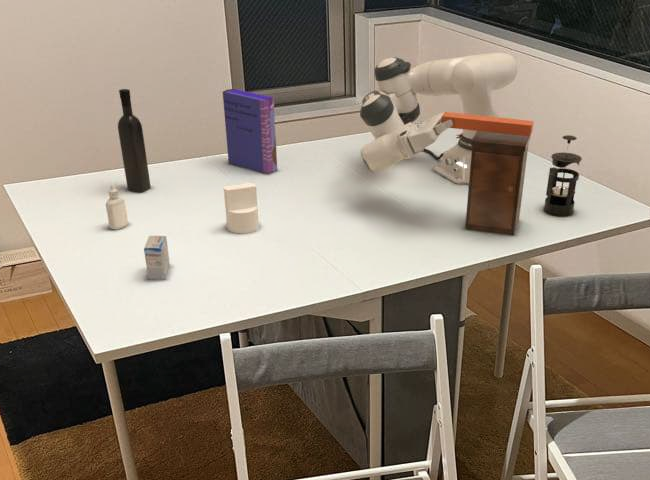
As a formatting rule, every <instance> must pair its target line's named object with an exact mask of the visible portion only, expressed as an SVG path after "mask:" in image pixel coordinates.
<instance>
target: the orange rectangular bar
mask: <svg viewBox="0 0 650 480" xmlns="http://www.w3.org/2000/svg"><path fill="white" fill-rule="evenodd" d="M449 119H452V120H453V123H454V124H453V126H451V127H449V128H448V129H457V130H463V129H465V130H474V131H483V132H493V133H502V134H511V135H521V136H532V133H533V129H534V120H526V119H517V118H509V117H507V118H506V117H499V116H498V117H489V116H480V115H470V114H464V113H459V112H451V111H444V114H443V115H442V120H441V123H444V122H446V121H447V120H449Z"/></svg>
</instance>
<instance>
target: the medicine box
mask: <svg viewBox="0 0 650 480" xmlns="http://www.w3.org/2000/svg"><path fill="white" fill-rule="evenodd" d="M168 247H169V245H168V239H167V236H166V235H149V236H148V238H147V240H146V242H145V245H144V248H143V253H144V260H145V266H146V274H147V278H148V280H166V278H167V275H168V272H169V269H170V267H171V266H170V265H171V264H170V256H169V248H168Z"/></svg>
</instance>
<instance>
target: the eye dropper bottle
mask: <svg viewBox="0 0 650 480" xmlns="http://www.w3.org/2000/svg"><path fill="white" fill-rule="evenodd" d="M108 196H109V198H108V200H106V202H105V210H106V215H107V220H108V227H109V228H110V229H111V230H115V231H116V230H120V229H123V228H125V227H127V226H128V225H129V218H128V212H127V207H126V201H125V199H124V198H123V197H121V196H119V190H118V189H117V188H115V186H114V184H112V185H110V189H109V190H108Z"/></svg>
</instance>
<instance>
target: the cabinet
mask: <svg viewBox="0 0 650 480" xmlns="http://www.w3.org/2000/svg"><path fill="white" fill-rule="evenodd" d="M531 136H532V135H531ZM531 136H521V135H511V134H502V133H493V132H483V131H477V132H476V134H475V135H474V137H473V139H472V140H471V146H472V154H471V166H470V178H469V184H468V190H467V191H468V192H467V202H466V203H467V204H466V214H465V215H466V216H465V227H464V230H470V231H476V232H477V231H478V232H485V233H491V234H492V233H493V234H500V235H507V236H515V234H516V231H517V228H518V225H519V222H520V215H521V207H522V200H523V192H524V183H525V175H526V169H527V159H528V151H529V144H530V141H531Z"/></svg>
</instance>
